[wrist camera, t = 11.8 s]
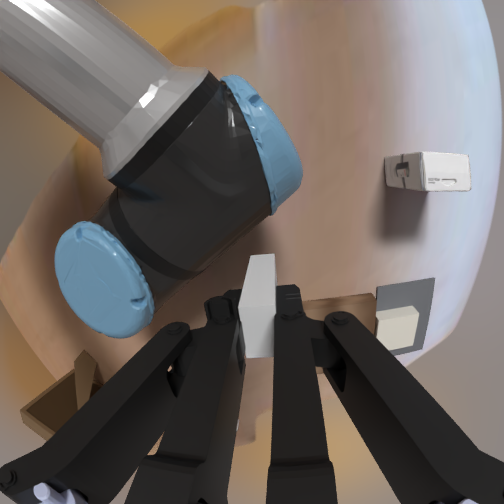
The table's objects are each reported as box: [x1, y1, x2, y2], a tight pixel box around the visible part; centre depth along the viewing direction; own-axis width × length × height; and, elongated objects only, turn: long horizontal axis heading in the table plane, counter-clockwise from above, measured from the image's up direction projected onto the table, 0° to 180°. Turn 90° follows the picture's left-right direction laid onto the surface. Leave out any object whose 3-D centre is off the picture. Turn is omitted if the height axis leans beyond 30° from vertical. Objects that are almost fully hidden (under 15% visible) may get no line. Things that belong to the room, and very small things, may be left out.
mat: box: [376, 278, 435, 356], centre depth 43 cm, size 12×16×1 cm
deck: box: [302, 293, 377, 374], centre depth 44 cm, size 16×14×3 cm
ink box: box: [385, 152, 471, 192], centre depth 30 cm, size 9×5×12 cm, turn 97°
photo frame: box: [20, 350, 103, 441], centre depth 43 cm, size 15×22×25 cm
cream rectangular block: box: [374, 306, 419, 350], centre depth 42 cm, size 8×7×3 cm
